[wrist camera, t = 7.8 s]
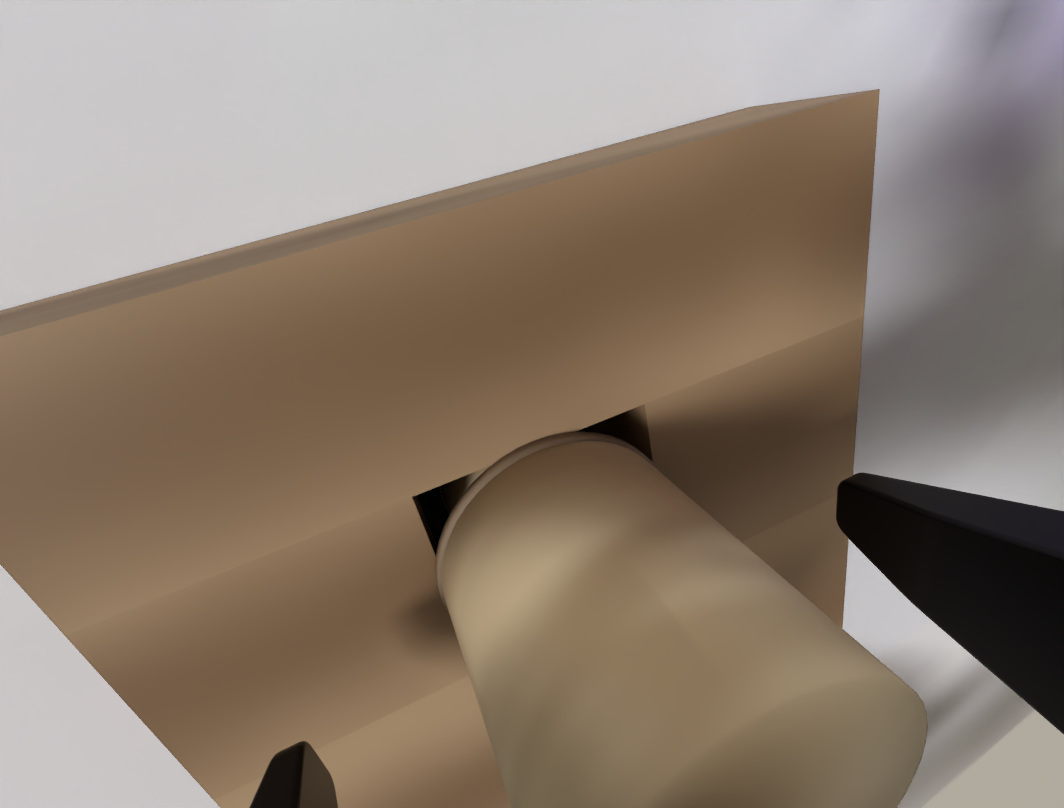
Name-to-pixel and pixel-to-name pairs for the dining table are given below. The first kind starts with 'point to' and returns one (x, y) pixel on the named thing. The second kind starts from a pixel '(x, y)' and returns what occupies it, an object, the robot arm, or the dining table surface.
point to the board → (426, 429)
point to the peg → (654, 648)
